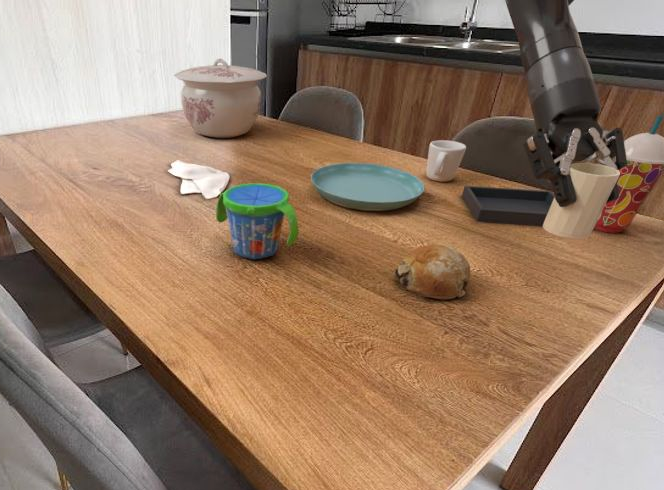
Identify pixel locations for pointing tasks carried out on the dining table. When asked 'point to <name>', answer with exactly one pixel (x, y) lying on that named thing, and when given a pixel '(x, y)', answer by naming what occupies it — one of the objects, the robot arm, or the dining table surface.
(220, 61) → the chamber pot
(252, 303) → the dining table surface
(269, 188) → the snack cup
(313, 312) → the dining table surface
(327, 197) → the teal plate
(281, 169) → the dining table surface
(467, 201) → the tray
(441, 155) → the cup
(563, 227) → the tumbler
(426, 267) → the bread roll
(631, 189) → the smoothie
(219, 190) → the cloth
